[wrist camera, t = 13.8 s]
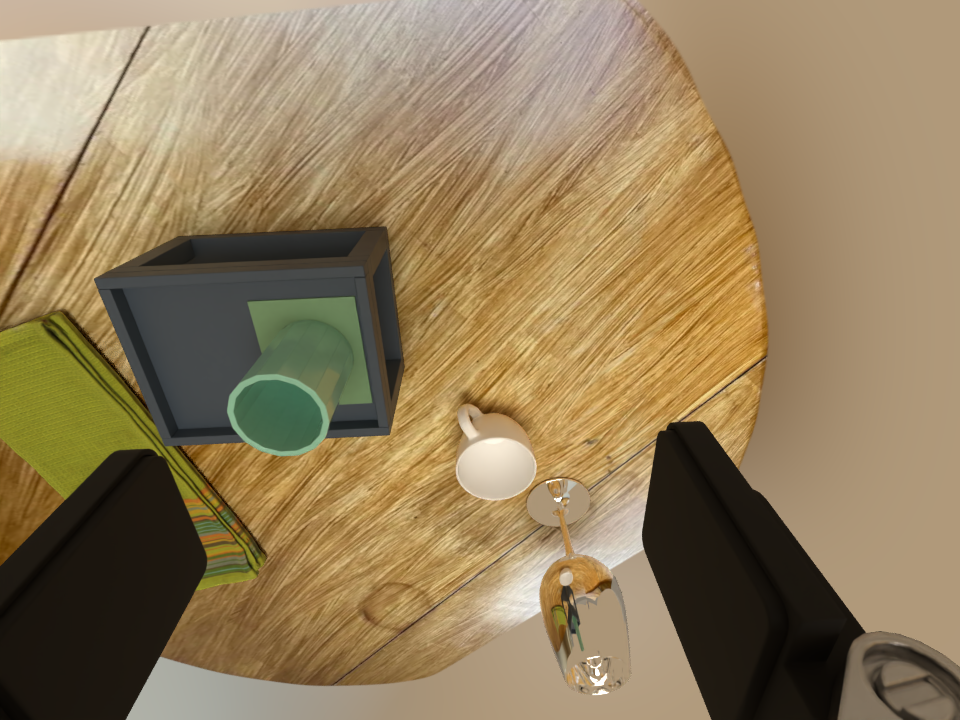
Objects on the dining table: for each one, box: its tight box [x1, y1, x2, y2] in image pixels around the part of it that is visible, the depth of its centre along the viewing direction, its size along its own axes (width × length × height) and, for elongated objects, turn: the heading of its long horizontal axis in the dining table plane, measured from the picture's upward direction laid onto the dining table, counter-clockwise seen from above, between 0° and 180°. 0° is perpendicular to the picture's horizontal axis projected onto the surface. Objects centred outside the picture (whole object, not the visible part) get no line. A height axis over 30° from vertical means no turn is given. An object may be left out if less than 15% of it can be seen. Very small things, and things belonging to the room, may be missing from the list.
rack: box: [94, 227, 405, 446], centre depth 41 cm, size 14×18×11 cm
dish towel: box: [0, 311, 267, 591], centre depth 53 cm, size 15×36×3 cm, turn 20°
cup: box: [456, 404, 536, 500], centre depth 50 cm, size 8×10×7 cm
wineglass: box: [526, 478, 631, 695], centre depth 50 cm, size 8×8×20 cm
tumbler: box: [227, 320, 354, 456], centre depth 34 cm, size 6×6×8 cm
